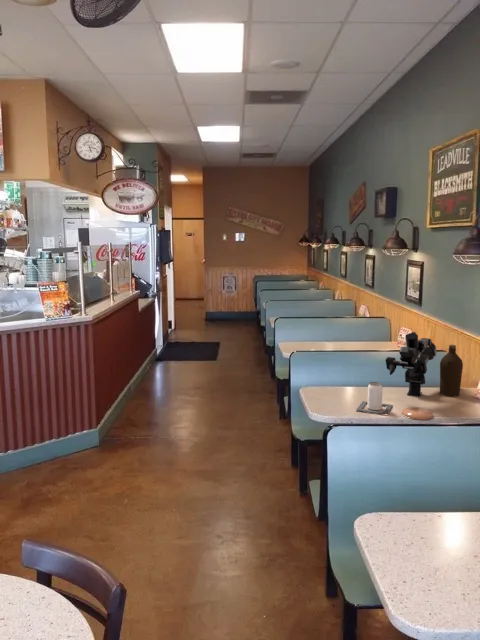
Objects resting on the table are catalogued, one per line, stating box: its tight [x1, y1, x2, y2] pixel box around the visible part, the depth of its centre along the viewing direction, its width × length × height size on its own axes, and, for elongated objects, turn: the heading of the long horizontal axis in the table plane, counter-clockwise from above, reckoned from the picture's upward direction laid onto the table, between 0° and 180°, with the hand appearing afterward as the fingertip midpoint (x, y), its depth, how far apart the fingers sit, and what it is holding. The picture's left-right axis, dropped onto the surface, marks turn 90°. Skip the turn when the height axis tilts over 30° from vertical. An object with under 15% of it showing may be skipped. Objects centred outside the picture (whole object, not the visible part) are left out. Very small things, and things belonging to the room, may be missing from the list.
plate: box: [401, 407, 434, 421], centre depth 242 cm, size 13×13×1 cm
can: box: [366, 381, 383, 411], centre depth 249 cm, size 6×6×12 cm
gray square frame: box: [355, 400, 393, 415], centre depth 250 cm, size 14×14×1 cm
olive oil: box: [439, 344, 464, 397], centre depth 270 cm, size 11×11×25 cm
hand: (399, 375), depth 250 cm, fingers open, 9 cm apart
